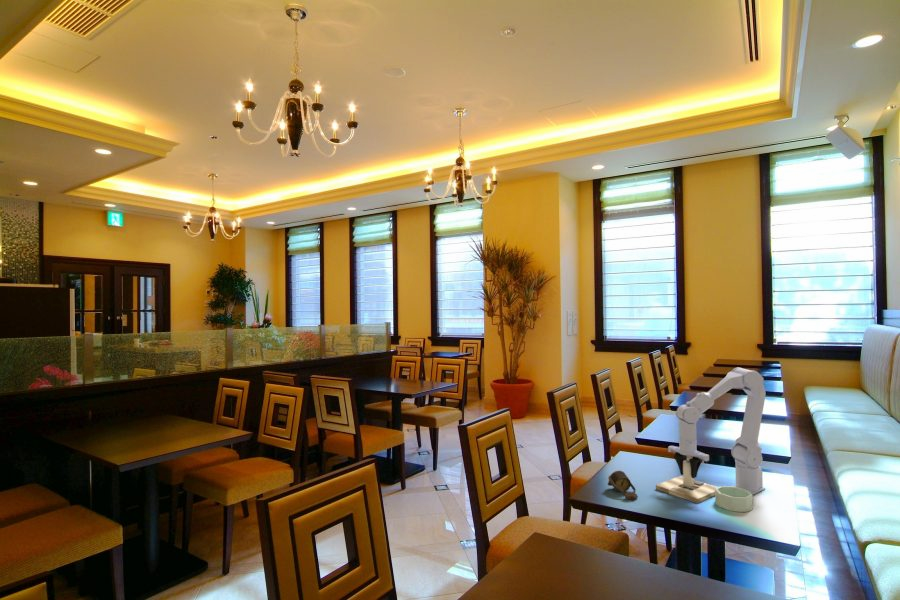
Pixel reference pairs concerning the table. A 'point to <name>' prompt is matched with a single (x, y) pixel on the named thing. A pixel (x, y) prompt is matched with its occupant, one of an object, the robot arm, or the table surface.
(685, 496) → the plate
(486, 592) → the table surface
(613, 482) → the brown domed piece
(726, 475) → the table surface
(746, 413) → the robot arm
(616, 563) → the table surface
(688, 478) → the cell
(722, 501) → the pale green bowl
